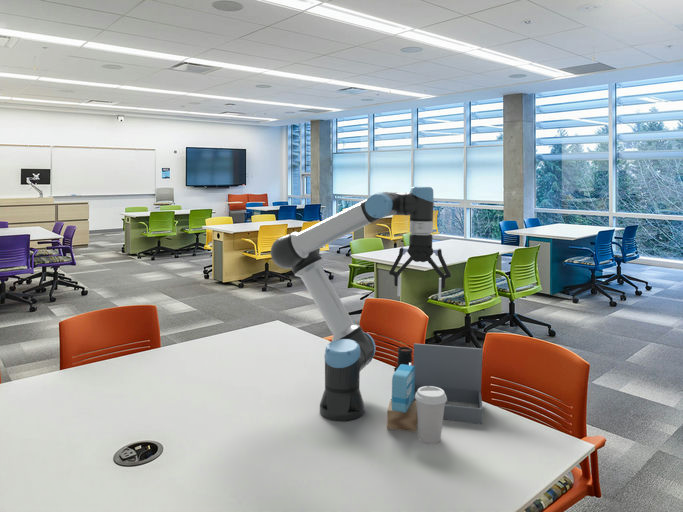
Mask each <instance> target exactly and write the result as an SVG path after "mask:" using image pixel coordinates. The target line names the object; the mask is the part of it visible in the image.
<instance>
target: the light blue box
mask: <svg viewBox="0 0 683 512" xmlns="http://www.w3.org/2000/svg"><path fill="white" fill-rule="evenodd" d="M391 377H392V379H391V380H392V381H391V399H392V410H393V411H398V412H404V413H406V412H407V411H408V409H409V407H410V405H411V404H412V402H413V400H414V401H415V399H414V384H415V366H413V364H412V365H404V364H401V365H400V366H399V367H398V369H397V370H396V371H394V373H393V374H392V376H391Z"/></svg>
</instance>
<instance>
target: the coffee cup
mask: <svg viewBox="0 0 683 512" xmlns="http://www.w3.org/2000/svg"><path fill="white" fill-rule="evenodd" d="M414 400H415V401H416V402H417V419H418V422H417V434H418V435H417V436H418V439H419V440H420V442H422V443H425V444H427V445H428V444H429V445H433V444H437V443H439V442H441V438H442V430H443V429H442V428H443V422H444V420H443V415H444V407H445V405H446V402H448V401H447V397H446V394H445V392H444V390H442V389H441V388H438V387H434V386H424V387H420V388H419V389H418V391H417V392H416V394H415V399H414Z"/></svg>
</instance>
